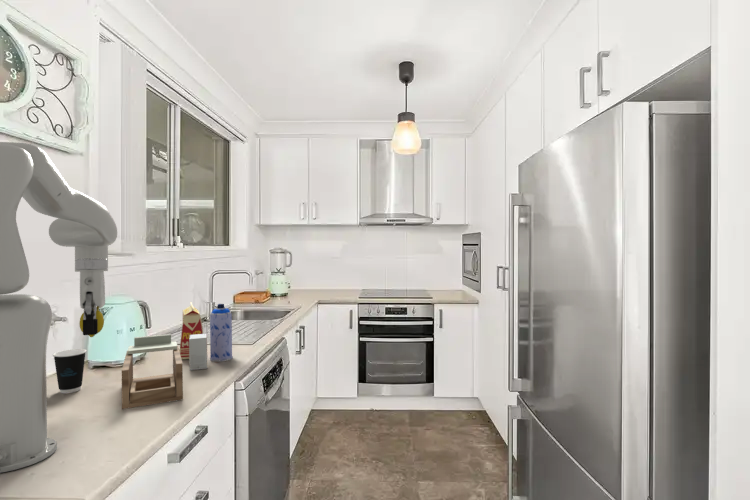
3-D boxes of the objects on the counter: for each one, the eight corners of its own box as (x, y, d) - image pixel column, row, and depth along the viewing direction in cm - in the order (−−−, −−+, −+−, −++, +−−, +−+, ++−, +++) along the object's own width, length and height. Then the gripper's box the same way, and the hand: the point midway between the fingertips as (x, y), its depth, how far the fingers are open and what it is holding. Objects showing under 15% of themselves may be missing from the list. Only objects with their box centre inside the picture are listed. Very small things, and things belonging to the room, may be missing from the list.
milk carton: (178, 355, 162) (177, 302, 162) (204, 352, 166) (203, 300, 166) (178, 360, 154) (177, 305, 154) (205, 357, 158) (205, 303, 158)
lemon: (91, 339, 112) (91, 308, 113) (74, 338, 114) (74, 308, 114) (108, 335, 118) (108, 306, 118) (91, 335, 119) (91, 306, 119)
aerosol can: (237, 356, 159) (236, 303, 159) (222, 362, 151) (222, 305, 151) (219, 355, 161) (219, 302, 161) (205, 360, 154) (204, 305, 154)
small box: (207, 368, 143) (207, 337, 143) (189, 370, 141) (188, 339, 141) (207, 363, 151) (206, 333, 151) (189, 364, 149) (189, 334, 149)
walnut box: (182, 399, 114) (182, 363, 114) (122, 409, 108) (121, 370, 108) (178, 375, 135) (178, 345, 135) (127, 382, 129) (127, 350, 129)
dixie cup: (77, 384, 128) (76, 347, 128) (93, 388, 124) (92, 350, 124) (47, 392, 121) (46, 353, 121) (62, 397, 117) (62, 356, 117)
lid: (177, 349, 129) (177, 337, 129) (127, 354, 123) (127, 342, 123) (176, 344, 135) (176, 333, 135) (128, 349, 129) (128, 337, 129)
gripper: (104, 266, 110) (104, 336, 110) (110, 265, 125) (110, 327, 125) (69, 266, 107) (69, 339, 106) (79, 266, 122) (80, 329, 122)
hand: (91, 332), depth 116 cm, fingers closed on lemon, 5 cm apart
